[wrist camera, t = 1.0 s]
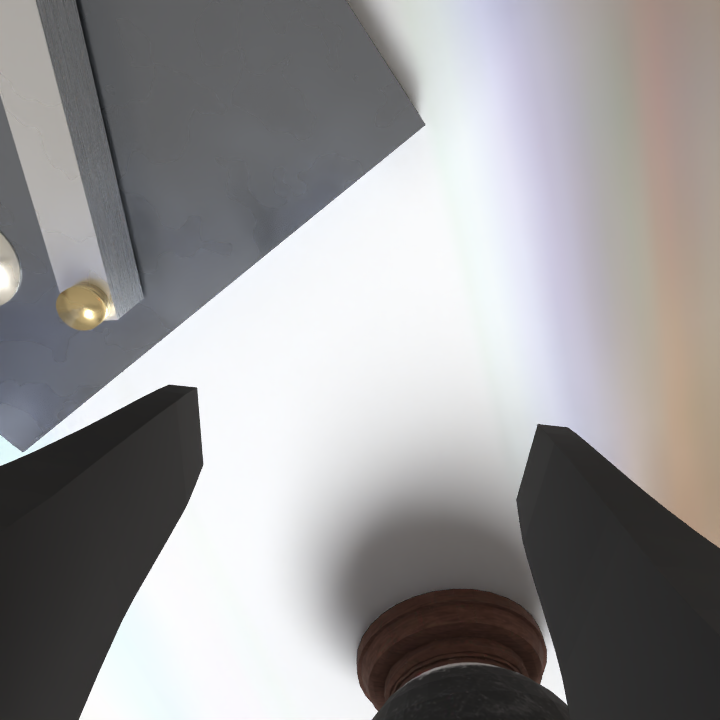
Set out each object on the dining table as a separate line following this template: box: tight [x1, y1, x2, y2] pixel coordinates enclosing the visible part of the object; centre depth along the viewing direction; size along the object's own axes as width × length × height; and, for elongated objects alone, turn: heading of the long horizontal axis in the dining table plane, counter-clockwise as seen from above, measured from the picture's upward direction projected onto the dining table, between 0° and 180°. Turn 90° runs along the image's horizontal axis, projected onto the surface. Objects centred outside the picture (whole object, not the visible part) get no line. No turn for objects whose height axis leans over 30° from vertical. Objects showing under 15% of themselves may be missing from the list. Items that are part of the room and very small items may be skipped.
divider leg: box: [0, 0, 144, 331], centre depth 15 cm, size 11×2×3 cm, turn 2°
